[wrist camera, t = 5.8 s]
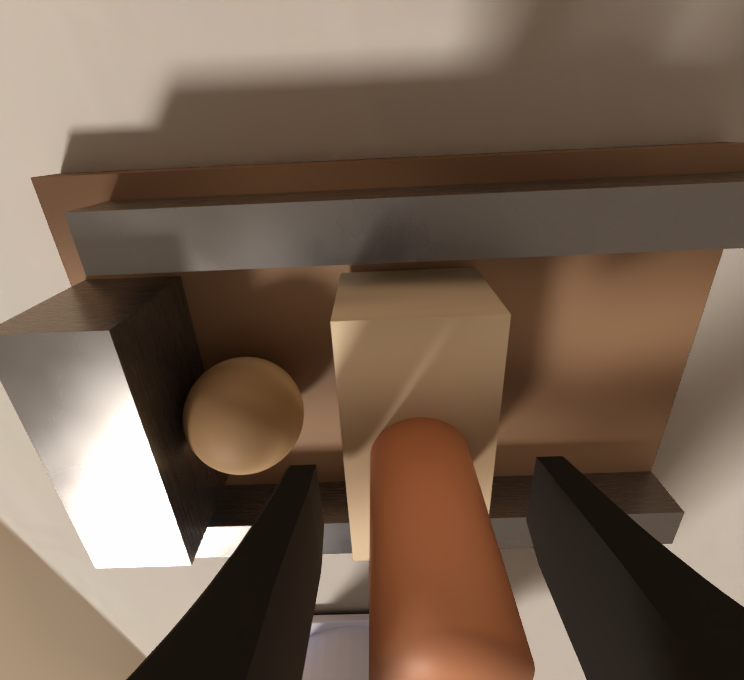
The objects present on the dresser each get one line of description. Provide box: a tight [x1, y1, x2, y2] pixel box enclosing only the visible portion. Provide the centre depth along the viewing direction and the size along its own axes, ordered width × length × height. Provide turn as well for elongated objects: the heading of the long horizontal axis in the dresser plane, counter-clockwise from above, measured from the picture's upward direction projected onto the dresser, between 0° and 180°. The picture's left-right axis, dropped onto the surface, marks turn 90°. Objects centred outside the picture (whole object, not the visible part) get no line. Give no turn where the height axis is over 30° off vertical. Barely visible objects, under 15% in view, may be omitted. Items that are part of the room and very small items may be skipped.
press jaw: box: [330, 267, 535, 680], centre depth 11 cm, size 8×4×9 cm, turn 2°
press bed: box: [0, 142, 744, 568], centre depth 14 cm, size 14×20×5 cm
